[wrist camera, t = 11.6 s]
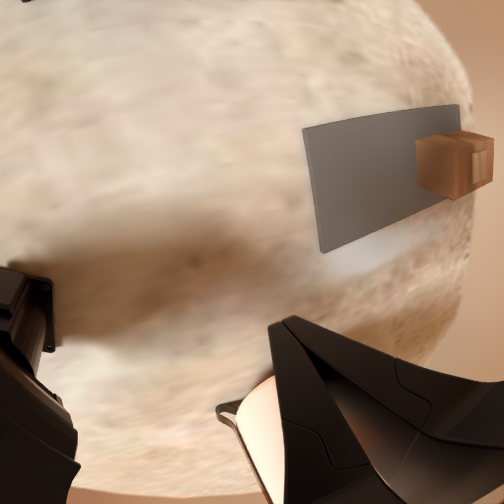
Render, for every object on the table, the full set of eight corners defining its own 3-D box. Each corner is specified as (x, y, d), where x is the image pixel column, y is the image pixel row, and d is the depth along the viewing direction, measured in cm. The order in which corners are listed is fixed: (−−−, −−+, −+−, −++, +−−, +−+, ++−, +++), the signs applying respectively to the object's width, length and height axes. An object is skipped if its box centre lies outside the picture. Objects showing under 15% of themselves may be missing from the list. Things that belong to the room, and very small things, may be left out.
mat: (320, 251, 25) (323, 253, 25) (301, 128, 20) (305, 129, 20) (456, 190, 29) (460, 192, 29) (455, 104, 24) (459, 105, 24)
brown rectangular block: (455, 203, 22) (494, 183, 23) (456, 149, 19) (496, 138, 21) (417, 188, 26) (460, 170, 27) (415, 139, 23) (460, 129, 25)
